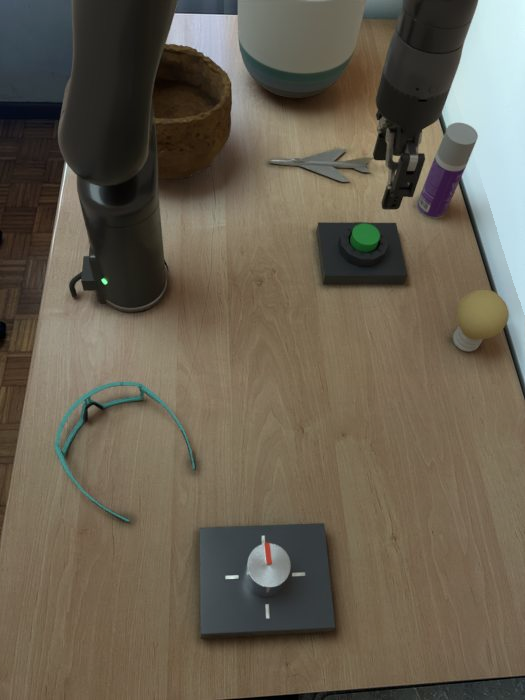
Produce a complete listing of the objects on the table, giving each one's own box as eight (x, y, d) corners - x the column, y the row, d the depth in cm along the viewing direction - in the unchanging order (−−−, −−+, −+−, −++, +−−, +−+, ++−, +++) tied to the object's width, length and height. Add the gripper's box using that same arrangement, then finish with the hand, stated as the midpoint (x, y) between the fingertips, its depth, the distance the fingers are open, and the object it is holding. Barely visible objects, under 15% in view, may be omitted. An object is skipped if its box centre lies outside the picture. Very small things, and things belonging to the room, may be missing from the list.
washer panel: (200, 638, 70) (200, 634, 68) (199, 535, 76) (199, 527, 73) (330, 631, 72) (335, 627, 69) (320, 530, 77) (324, 522, 75)
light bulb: (459, 368, 90) (486, 328, 82) (433, 332, 93) (455, 290, 84) (496, 351, 92) (526, 311, 83) (469, 316, 95) (495, 274, 86)
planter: (350, 124, 114) (378, 5, 96) (232, 117, 113) (237, -6, 95) (344, 50, 125) (367, -70, 106) (236, 43, 124) (240, -80, 105)
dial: (288, 595, 70) (293, 584, 66) (247, 599, 70) (249, 589, 65) (283, 553, 73) (288, 540, 68) (243, 557, 72) (245, 544, 68)
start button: (351, 252, 95) (354, 244, 93) (348, 231, 97) (350, 223, 95) (379, 252, 95) (382, 244, 94) (375, 231, 97) (377, 223, 96)
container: (444, 222, 104) (478, 147, 91) (415, 216, 104) (444, 141, 91) (446, 200, 106) (479, 125, 94) (417, 194, 107) (446, 119, 94)
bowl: (130, 111, 112) (120, 29, 99) (240, 131, 111) (244, 51, 99) (96, 191, 102) (80, 111, 89) (216, 213, 102) (217, 136, 89)
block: (322, 284, 96) (326, 267, 92) (315, 231, 101) (319, 213, 98) (403, 284, 97) (410, 267, 94) (392, 232, 102) (399, 214, 99)
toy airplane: (267, 146, 110) (268, 135, 108) (392, 153, 111) (395, 142, 109) (267, 180, 106) (269, 169, 104) (397, 186, 107) (400, 176, 105)
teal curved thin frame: (133, 376, 86) (131, 359, 81) (207, 462, 82) (210, 449, 78) (39, 442, 80) (32, 428, 76) (114, 537, 77) (111, 528, 72)
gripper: (375, 29, 74) (350, 143, 88) (393, 115, 67) (362, 224, 81) (441, 31, 75) (405, 144, 88) (466, 117, 67) (423, 225, 81)
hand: (385, 182), depth 85 cm, fingers open, 8 cm apart
